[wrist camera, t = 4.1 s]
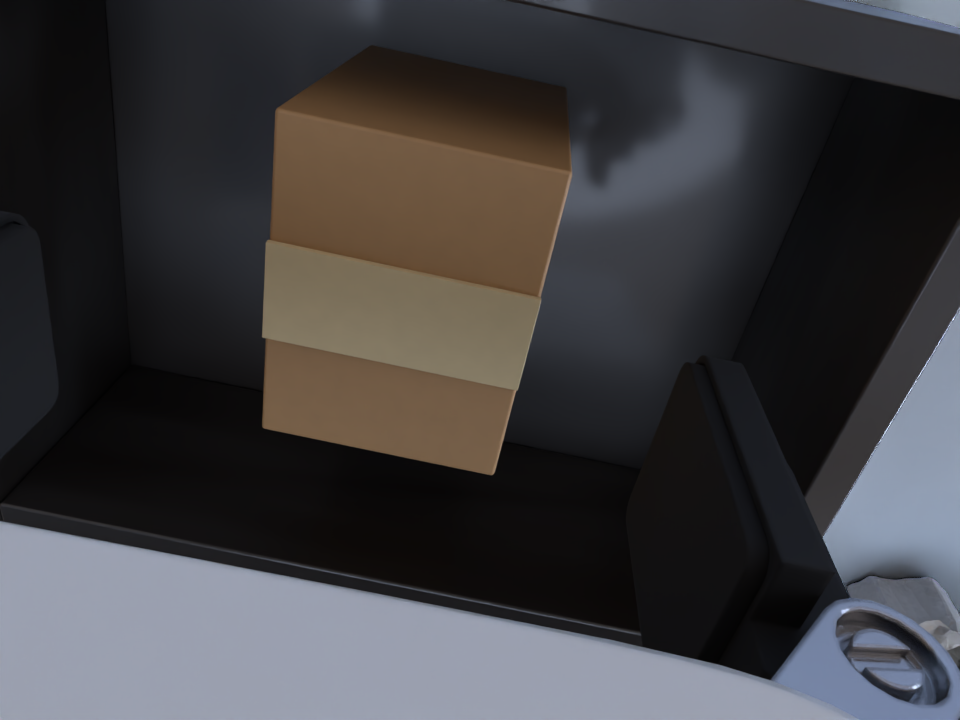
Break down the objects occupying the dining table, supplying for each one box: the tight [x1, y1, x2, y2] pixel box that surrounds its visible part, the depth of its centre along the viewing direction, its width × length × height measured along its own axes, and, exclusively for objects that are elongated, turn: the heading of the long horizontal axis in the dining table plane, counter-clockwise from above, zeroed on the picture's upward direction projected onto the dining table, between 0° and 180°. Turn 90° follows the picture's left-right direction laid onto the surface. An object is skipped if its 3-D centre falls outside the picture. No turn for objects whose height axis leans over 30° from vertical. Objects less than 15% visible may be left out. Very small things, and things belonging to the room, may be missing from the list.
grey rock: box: [847, 576, 960, 670], centre depth 25 cm, size 11×8×4 cm
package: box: [262, 45, 572, 475], centre depth 15 cm, size 6×4×7 cm
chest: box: [0, 0, 960, 647], centre depth 16 cm, size 14×18×7 cm
